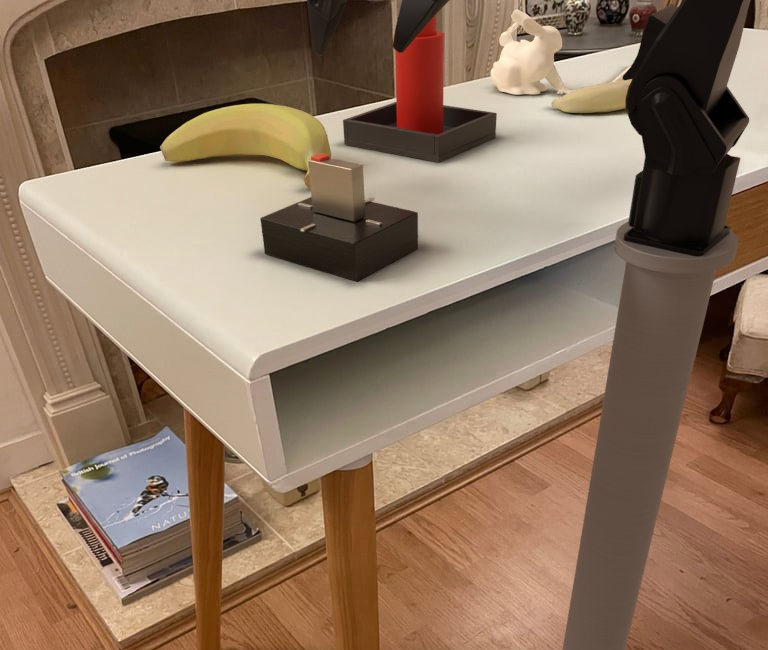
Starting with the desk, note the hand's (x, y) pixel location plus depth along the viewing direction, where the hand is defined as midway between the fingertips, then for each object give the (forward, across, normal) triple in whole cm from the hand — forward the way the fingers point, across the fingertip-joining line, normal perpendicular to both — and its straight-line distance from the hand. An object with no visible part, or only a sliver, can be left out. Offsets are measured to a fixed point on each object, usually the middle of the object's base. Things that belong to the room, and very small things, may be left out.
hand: (359, 51), depth 69 cm
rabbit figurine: (+12, -44, -12) cm, 47 cm away
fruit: (+8, -46, 0) cm, 46 cm away
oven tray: (+13, -18, -6) cm, 23 cm away
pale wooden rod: (+9, -57, -7) cm, 58 cm away
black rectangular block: (+10, +9, +13) cm, 18 cm away
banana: (+17, 0, -10) cm, 20 cm away
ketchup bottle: (+12, -18, -6) cm, 23 cm away
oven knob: (+7, +9, +12) cm, 16 cm away
